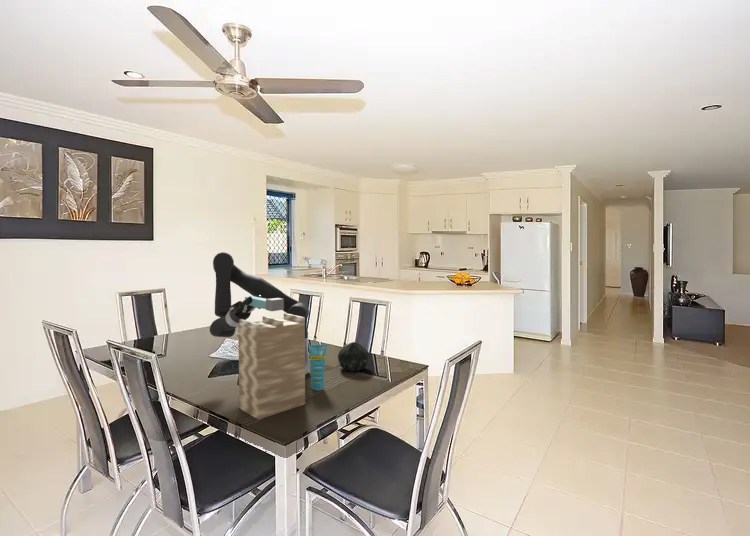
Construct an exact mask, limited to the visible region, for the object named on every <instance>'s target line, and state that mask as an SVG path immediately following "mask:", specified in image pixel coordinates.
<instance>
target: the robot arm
mask: <svg viewBox="0 0 750 536" xmlns="http://www.w3.org/2000/svg"><path fill="white" fill-rule="evenodd" d="M212 267H213V270H214V273H215V296H214V315H215V316H216V317H218V318H216V319H215V320H213V321H212V322H211V324H210V326H209V333H210V334H211V336H212V337H215V338H217V337H218V338H232V337H233V336H234V335H235V333H236V328H238V324H240V319H243V320H248V319H249V318H250V316H251V315H252V312H253V311H255V309H258V310H261V309H262V308H258V307H254V306H250V305H249V304H250V303H251V302H252V297H251V296H255V297H260V298H265V299H272V298H281V299H284V310H282V311H283V312H284V313H287V314H292V315H296V316H301V317H305V375H307V374H310V371H311V357H310V352H309V332H308V320H307V319H308V318H309V314H310V311H309V308H308V306H307V305H306V304H304V303H302V302H300V301H298V300H296V299H294V298H293V297H291V296H289V295H287V294H286V293H284V291H282V290H280V289H279V288H278V287H276V286H274V285H273V284H271V283H270V282H268V281H267V280H265V279H264V278H262V277H260V276H258V275H254V274H251V273H247V272H246V271H244V270H243V269H241V268H239V267H238V266H237V265H235V262H234V258H233V256H232V255H231V254H230V253H228V252H224V251H223V252H219V253H217V254H216V255H214V257H213V260H212ZM231 283H233V284H235V285H236V286H238V287H240V288H241V289H242V290H243V291H245V292H247V293H248V294H249V295H251V296H247V297H248V298H247V299H246V300H245V299H243V300H239V301H237V302H235V303H233V304H232V290H231Z"/></svg>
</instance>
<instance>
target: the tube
mask: <svg viewBox="0 0 750 536" xmlns="http://www.w3.org/2000/svg"><path fill="white" fill-rule="evenodd" d="M327 346H328V345H327V344H326V343H325V344H308V350H309V353H310V371H311V389H312V390H314V391H322V390H324V387H325V386H324V384H325V370H326V367H325V366H326V357H327V356H326V355H327Z"/></svg>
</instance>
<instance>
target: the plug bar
mask: <svg viewBox="0 0 750 536" xmlns="http://www.w3.org/2000/svg"><path fill="white" fill-rule="evenodd" d="M248 297H249V296H244V300H246V299H247V298H248ZM251 297H252V302H251V303H250V304H249V305H250V306H254V307H258V308H261V309H262V310H266V311H269V312H278V311H283V310H284V299H281V298H272V299H265V298H260V297H255V296H252V295H251ZM258 308H257V309H258Z"/></svg>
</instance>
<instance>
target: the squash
mask: <svg viewBox="0 0 750 536" xmlns="http://www.w3.org/2000/svg"><path fill="white" fill-rule="evenodd" d="M337 358H338V359H337V360H338V364H339V366H340V367H341V368H342V369H344V370H346V371H349V372H354V371H355V372H356V371H357V372H359V371H362V370H364V369H365V368H366V367H367V365H368V363H369V362H368V361H369V353H368V350H367V349H366V348H365V347H364V346H363V345H361V344H360V343H358V342H357V341H352V342H349V343H347V344H346V345H345V346H343V347H341V349H340V350H339V352H338V355H337Z"/></svg>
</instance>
